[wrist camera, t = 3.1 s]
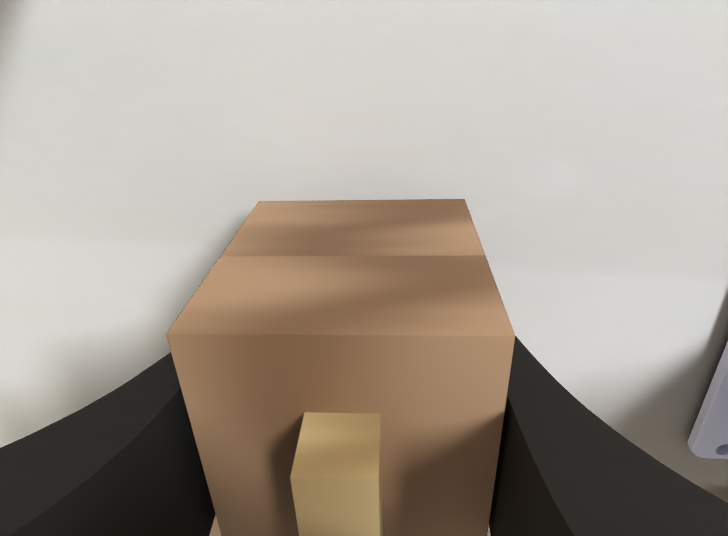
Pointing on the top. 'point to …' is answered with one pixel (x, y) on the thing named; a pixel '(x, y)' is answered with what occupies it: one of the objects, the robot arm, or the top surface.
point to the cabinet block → (348, 371)
